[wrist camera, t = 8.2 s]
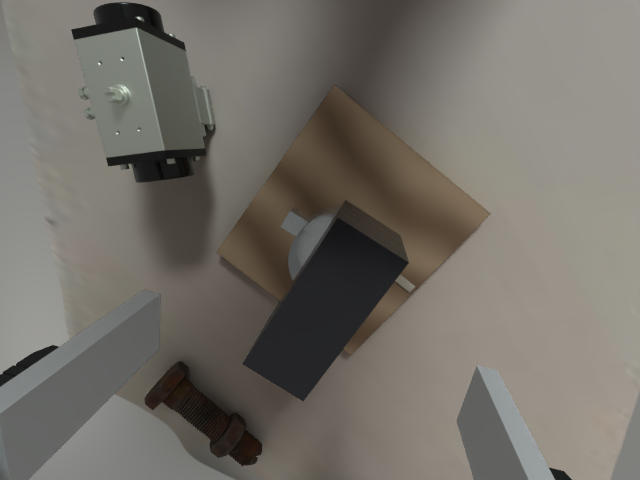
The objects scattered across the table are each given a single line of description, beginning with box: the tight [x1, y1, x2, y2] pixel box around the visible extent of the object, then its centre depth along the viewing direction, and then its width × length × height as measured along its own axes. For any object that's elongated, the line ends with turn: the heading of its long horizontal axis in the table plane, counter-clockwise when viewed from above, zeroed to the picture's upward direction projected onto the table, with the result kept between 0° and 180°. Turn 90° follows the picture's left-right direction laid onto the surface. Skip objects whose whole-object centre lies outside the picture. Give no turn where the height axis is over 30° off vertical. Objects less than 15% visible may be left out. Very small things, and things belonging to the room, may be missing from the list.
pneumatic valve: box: [71, 2, 215, 183], centre depth 28 cm, size 6×12×12 cm, turn 6°
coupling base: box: [217, 85, 491, 355], centre depth 32 cm, size 20×18×5 cm
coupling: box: [243, 200, 409, 401], centre depth 24 cm, size 10×10×13 cm
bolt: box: [145, 361, 262, 466], centre depth 42 cm, size 6×5×15 cm
